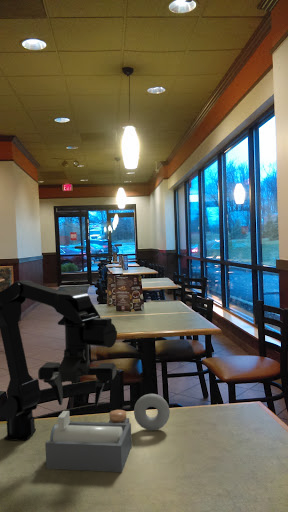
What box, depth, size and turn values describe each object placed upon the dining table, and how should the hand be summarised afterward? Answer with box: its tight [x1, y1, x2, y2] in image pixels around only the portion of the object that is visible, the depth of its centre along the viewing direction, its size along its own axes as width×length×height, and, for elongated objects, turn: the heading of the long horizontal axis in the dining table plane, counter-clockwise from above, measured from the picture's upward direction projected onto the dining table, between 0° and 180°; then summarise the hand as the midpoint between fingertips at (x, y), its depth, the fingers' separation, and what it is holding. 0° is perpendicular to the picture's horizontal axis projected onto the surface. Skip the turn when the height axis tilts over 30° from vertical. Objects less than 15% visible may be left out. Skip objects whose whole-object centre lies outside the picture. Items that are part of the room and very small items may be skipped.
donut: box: [133, 393, 171, 432], centre depth 114 cm, size 10×3×10 cm, turn 86°
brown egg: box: [108, 409, 127, 423], centre depth 109 cm, size 4×4×6 cm
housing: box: [44, 417, 133, 473], centre depth 103 cm, size 18×18×6 cm
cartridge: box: [49, 410, 123, 444], centre depth 101 cm, size 17×6×9 cm, turn 81°
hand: (78, 405), depth 104 cm, fingers open, 9 cm apart
